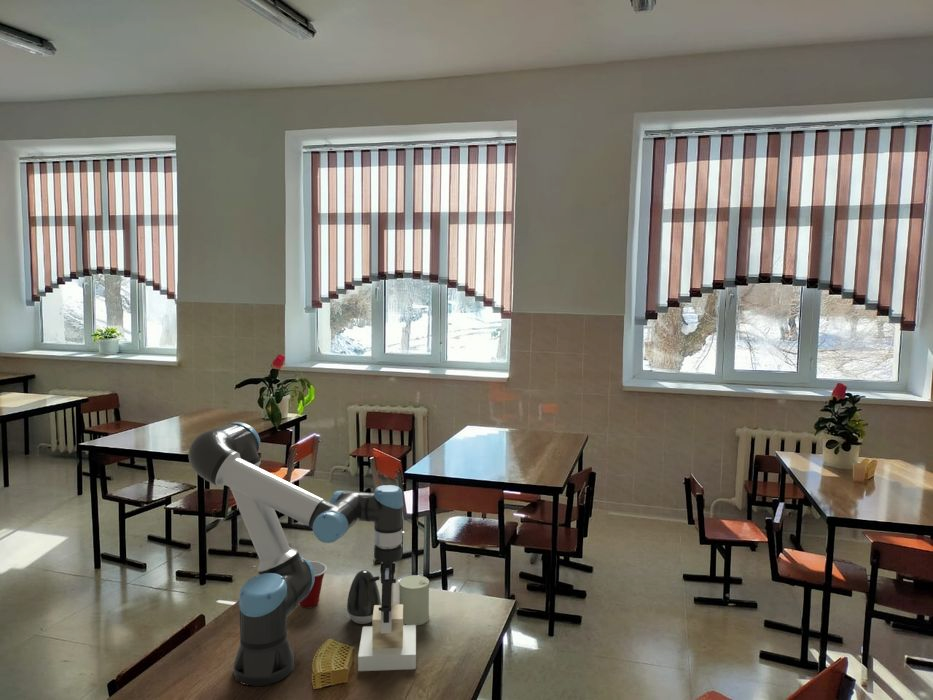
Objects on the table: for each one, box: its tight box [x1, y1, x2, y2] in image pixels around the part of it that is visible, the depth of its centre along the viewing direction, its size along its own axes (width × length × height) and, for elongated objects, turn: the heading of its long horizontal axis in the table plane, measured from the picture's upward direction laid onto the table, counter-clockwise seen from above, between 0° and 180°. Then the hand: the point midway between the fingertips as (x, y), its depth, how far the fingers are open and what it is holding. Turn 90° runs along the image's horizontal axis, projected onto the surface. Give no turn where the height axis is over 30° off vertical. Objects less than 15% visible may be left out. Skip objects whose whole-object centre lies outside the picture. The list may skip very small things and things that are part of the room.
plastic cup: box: [299, 560, 327, 609], centre depth 201 cm, size 11×11×12 cm
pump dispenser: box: [346, 569, 382, 625], centre depth 191 cm, size 10×10×15 cm
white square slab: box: [357, 624, 417, 672], centre depth 174 cm, size 15×15×4 cm
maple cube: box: [371, 603, 404, 649], centre depth 173 cm, size 8×8×8 cm
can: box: [398, 574, 430, 627], centre depth 193 cm, size 9×9×12 cm
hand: (387, 619), depth 173 cm, fingers open, 13 cm apart
